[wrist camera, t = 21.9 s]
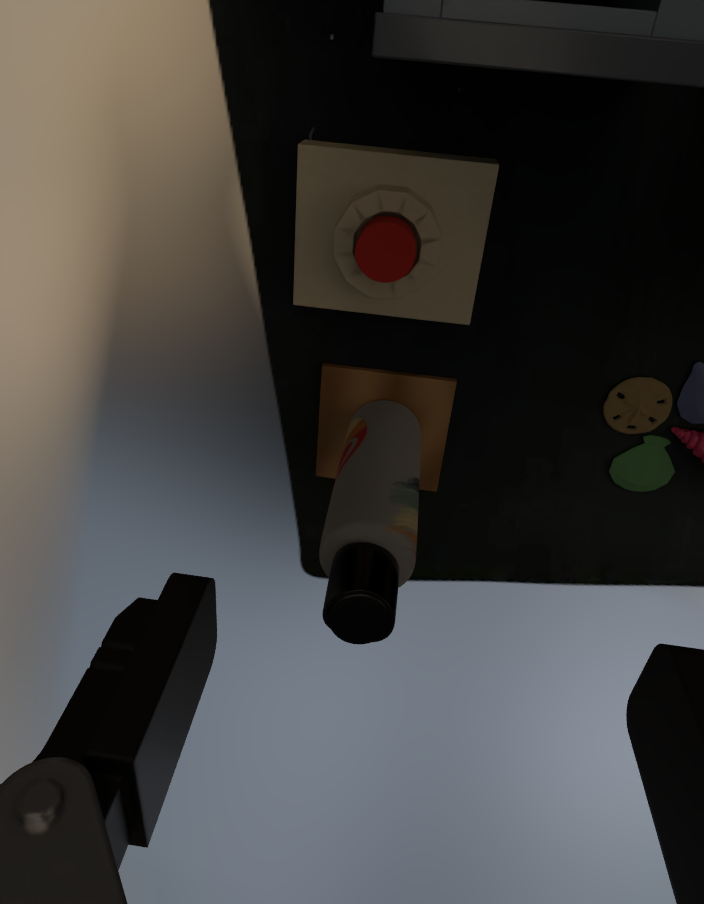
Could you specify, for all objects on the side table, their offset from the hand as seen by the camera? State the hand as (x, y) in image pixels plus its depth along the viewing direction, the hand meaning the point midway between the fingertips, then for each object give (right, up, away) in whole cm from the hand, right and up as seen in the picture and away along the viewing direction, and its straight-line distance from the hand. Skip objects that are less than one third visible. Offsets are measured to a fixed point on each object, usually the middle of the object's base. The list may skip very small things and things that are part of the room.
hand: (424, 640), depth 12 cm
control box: (+1, +18, +31) cm, 36 cm away
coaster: (+1, +5, +39) cm, 39 cm away
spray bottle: (+1, +5, +39) cm, 39 cm away
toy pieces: (+23, +5, +36) cm, 43 cm away
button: (+1, +16, +28) cm, 32 cm away
